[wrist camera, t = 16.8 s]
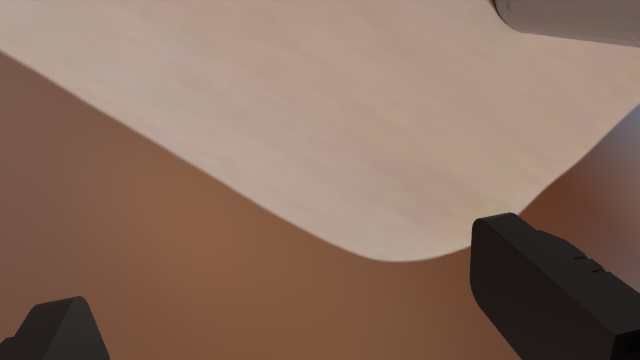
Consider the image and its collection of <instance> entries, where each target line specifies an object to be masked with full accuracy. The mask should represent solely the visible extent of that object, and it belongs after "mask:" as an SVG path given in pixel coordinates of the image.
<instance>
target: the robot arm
mask: <svg viewBox="0 0 640 360" xmlns="http://www.w3.org/2000/svg"><path fill="white" fill-rule="evenodd" d="M495 3H496V7H497V10H498V12H499V14H500V16H501V18H502V19H503V20H504V22H505V23H506V24H507V25H508V26H510V27H511V28H513V29H514V30H517V31H519V32H522V33H529V34H537V35H545V36H551V37H559V38H567V39H575V40H583V41H591V42H599V43H606V44H614V45H622V46H630V47H638V48H640V0H495ZM470 285H471V290H472V293H473V296H474V298H475V300H476V302H477V304H478V306H479V307H480V308H481V310H482V311H483V312H484V313H485V315H486V316H487V317H488V318H489V319H490V321H491V322H492V323H493V324H494V326H495V327H496V328H497V329H498V331H499V332H500V333H501V334H502V336H503V337H504V338H505V339H506V340H507V342H508V343H509V344H510V346H511V347H512V348H513V349H514V351H515V352H516V353H517V354H518V356H520V358H521V359H522V360H640V293H638V292H637V291H635V290H634V289H633V288H631V287H630V286H628V285H627V284H626V283H624V282H623V281H622V280H620V279H619V278H617V277H616V276H615V275H613V274H612V273H611V272H606V271H605V269H604V268H603V267H602V266H601V265H599V264H598V263H597V262H595V261H594V260H593V259H588V258H587V255H585V254H584V253H583V252H582V251H580V250H579V249H577V248H576V247H575V246H573V245H572V244H570V243H569V242H568V241H566V240H564V239H561V238H559V237H556V236H554V235H551V234H549V233H547V232H544V231H541V230H538V231H537V230H536V229H534V228H533V227H532V226H530V225H529V224H528V223H527V222H525V221H524V220H523V219H521V218H520V217H519V216H517V215H516V214H514V213H510V212H509V213H504V214H499V215H494V216H489V217H484V218H479V219H476V220H475V221H474V223H473V226H472V238H471V260H470ZM0 360H110V357H109V354H108V352H107V349H106V346H105V344H104V342H103V339H102V337H101V334H100V332H99V329H98V327H97V324H96V322H95V319H94V317H93V315H92V312H91V310H90V307H89V305H88V303H87V301H86V300H85V299H84V298H83V297H81V296H77V297H72V298H67V299H63V300H57V301H51V302H46V303H41V304H37V305H35V306H34V307H33V308H32V309H31V311H30V312H29V314H28V315H27V317H26V318H25V320H24V322H23V323H22V325H21V326H20V328H19V329H18V331H17V333H16V334H15V336H14V337H10V338H6V339H5V340H4V341H3V342H1V343H0Z"/></svg>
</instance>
